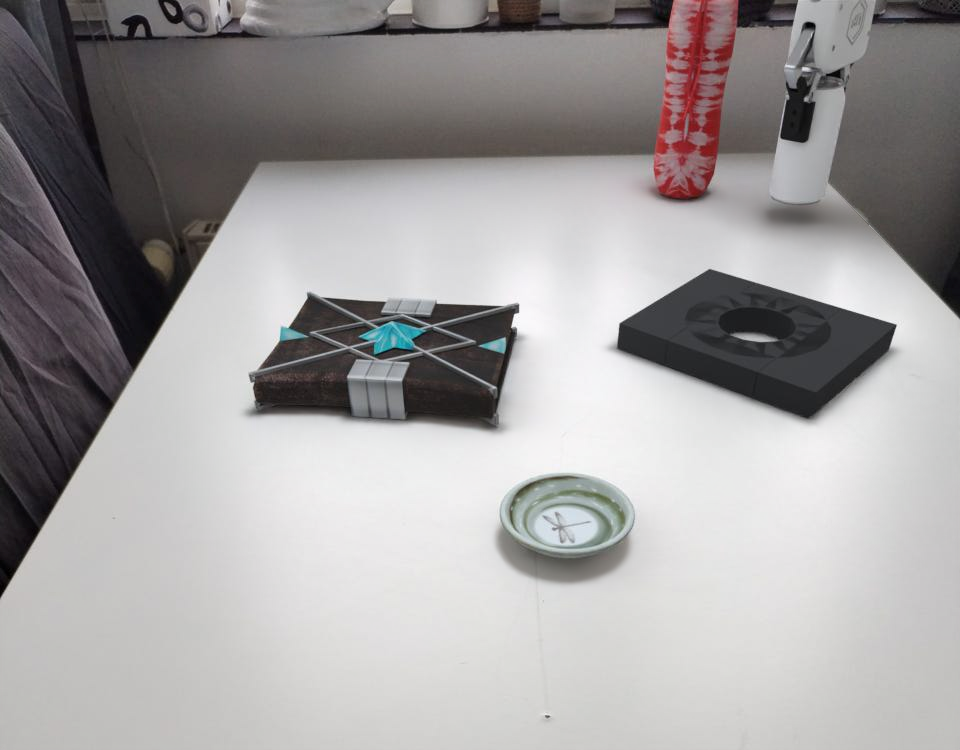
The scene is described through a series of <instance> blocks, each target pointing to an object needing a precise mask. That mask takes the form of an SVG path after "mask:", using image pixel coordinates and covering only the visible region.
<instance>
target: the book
mask: <svg viewBox="0 0 960 750" xmlns="http://www.w3.org/2000/svg"><path fill="white" fill-rule="evenodd" d="M306 297H307V298H306V300H305V301H304V303H303V304H302V305H301V308H300V309H299V311H298V312H297V314H296V315H295V318H294V319H293V320H292V322H291V323H290V325H289V326H288V327H286V326H284V325H281V324H280V332H279V341H278V342H277V344H276V345H275V347H274V348H273V349H272V350H271V352H270V353H269V355H268V356H266V358H265V360H263V362H262V363H261V365H259V367H258V368H257V370H254V371H250V372H247V373H248V377H249V382H250V383H252V384H253V385H252V390H253V395H254V396H253V397H254V400H253V402H254V403H253V404H254V407H255V410H256V411H260V410H263V409H267V408H271V407H274V406H279V405H299V406H332V407H345V408H346V407H347V408H350V412H351V416H352V417H359V418H373V419H375V418H376V419H390V420H403V421H405V420H406V418H407V415H408V413H409V412H410V413H411V412H412V413H424V414H425V413H426V414H436V415H448V416H458V417H459V416H460V417H468V418H470V417H471V418H480V419H482V420H484V421H485V422H487V423H489V424H490V425H492V426H495V427H497V426H498V425H499V424H500V419H499V417H500V416H499V414H497V410H498V405H499V402H500V397H501V392H502V389H503V384H504V380H505V376H506V373H507V368H508V365H509V361H510V356H511V354H512V350H513V345H514V342H515V338H517V337H518V328H517V327H516V326H513V322H514V318H515V315H517V314H519V313H520V303H519V302H514V303H510V304H507V305H487V304H486V305H485V304H483V305H482V304H460V303H459V304H458V303H438V301H437V300H438V299H429V298H428V299H427V298H426V299H425V298H409V297H408V298H406V297H388V298H387V300H386V301H381V300H379V301H378V300H361V299H347V298H338V297H337V298H335V297H326V296H325V297H324V296H319V295H318V294H315V292H312V291H307V292H306Z"/></svg>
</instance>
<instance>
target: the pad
mask: <svg viewBox="0 0 960 750" xmlns="http://www.w3.org/2000/svg"><path fill="white" fill-rule="evenodd" d="M896 329H897V324H896V323H892V322H889V321H886V320H883V319H878V318H876V317H873V316H869V315H867V314H862V313H860V312H856V311H852V310H849V309H846V308H843V307H839V306H836V305H832V304H829V303H825V302H823V301H818V300H816V299H812V298H809V297H806V296H803V295H799V294H796V293H793V292H789V291H786V290H782V289H779V288H775V287H772V286H769V285H766V284H762V283H758V282H755V281H751V280H749V279H745V278H743V277H739V276H736V275H732V274H729V273H725V272H722V271H718V270H716V269H712V268H708V269H707V270H705V271H703V272H702V273H700V274H698V275H697V276H695V277H693V278H692V279H690V280H689V281H687V282H685V283H684V284H682V285H680V286H679V287H676V288H675V289H674V290H672V291H670V292H669V293H667V294H665V295H664V296H662V297H660V298H658V299H657V300H655V301H654V302H652V303H651V304H649V305H647V306H646V307H644V308H642V309H641V310H639V311H637V312H636V313H634V314H633V315H631V316H629V317H627V318H626V319H624V320H622V321H621V322H619V323H618V334H617V345H616V346H617V347H616V348H617V349H619V350H622V351H625V352H627V353H630V354H632V355H635V356H638V357H641V358H644V359H646V360H649V361H652V362H654V363H657V364H659V365H663V366H665V367H668V368H671V369H673V370H676V371H678V372H682V373H684V374H687V375H690V376H692V377H695V378H698V379H701V380H703V381H707V382H709V383H712V384H715V385H717V386H719V387H722V388H725V389H727V390H730V391H734V392H736V393H738V394H742V395H744V396H746V397H750V398H753V399H756V401H757V400H758V401H761V402H764V403H766V404H768V405H771V406H773V407H775V408H779V409H782V410H785V411H788V412H790V413H793V414H795V415H799V416H801V417H804V418H807V419H810V418H811V417H813V416H814V415H815V414H816V413H817V412H818V411H820V410H821V409H822V408H823V407H825V405H826V404H828V403H829V402H830V401H831V400H832V399H833V398H834V397H836V396H837V395H838V394H840V393H841V392H842V391H843V390H844V389H845V388H846V387H847V386H848V385H850V384H851V383H852V382H853V381H855V380H856V379H857V378H858V377H859V376H860V375H861V374H862V373H864V371H866V370H867V369H868V368H869V367H871V366H872V365H873V364H874V363H875V362H876V361H878V360H879V359H880V358H881V357H883V356H884V355H885V354H886V353H887V352H888V351H889V350H890V348H891V345H892V342H893V338H894V335H895V332H896ZM744 332H746V333H747V332H751V333H758V334H765V335H768V336H771V337H774V338H777V339H778V340H775V341H774V340H773V341H758V340H757V341H756V340H749V339H743V338H741V337H738V336H734V335H731V334H733V333H744Z"/></svg>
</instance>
